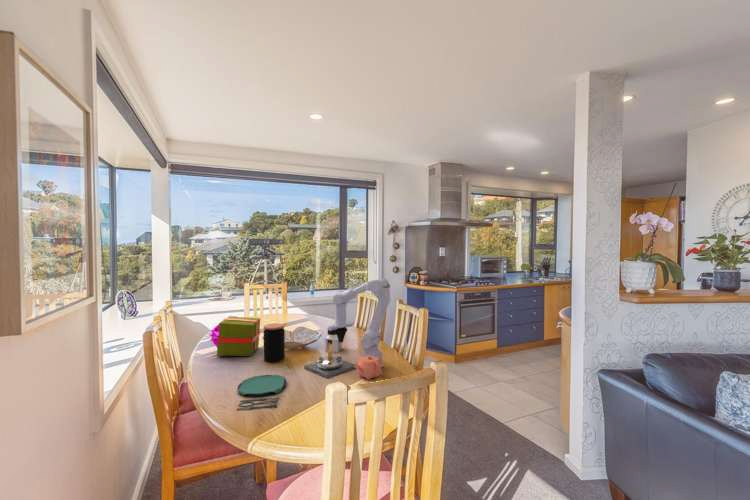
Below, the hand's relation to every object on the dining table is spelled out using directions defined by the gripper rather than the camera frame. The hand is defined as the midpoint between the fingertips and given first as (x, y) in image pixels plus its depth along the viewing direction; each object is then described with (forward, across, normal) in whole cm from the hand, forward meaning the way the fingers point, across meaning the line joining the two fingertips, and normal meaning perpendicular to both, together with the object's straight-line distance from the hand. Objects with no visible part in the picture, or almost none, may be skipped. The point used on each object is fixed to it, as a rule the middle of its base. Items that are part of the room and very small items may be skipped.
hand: (340, 342), depth 182 cm
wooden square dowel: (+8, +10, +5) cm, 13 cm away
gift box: (+10, +38, -50) cm, 63 cm away
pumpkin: (+10, +5, +28) cm, 29 cm away
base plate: (+9, +12, +7) cm, 16 cm away
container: (+10, -6, -17) cm, 20 cm away
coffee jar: (+10, +26, -24) cm, 37 cm away
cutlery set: (+10, +48, +11) cm, 51 cm away
